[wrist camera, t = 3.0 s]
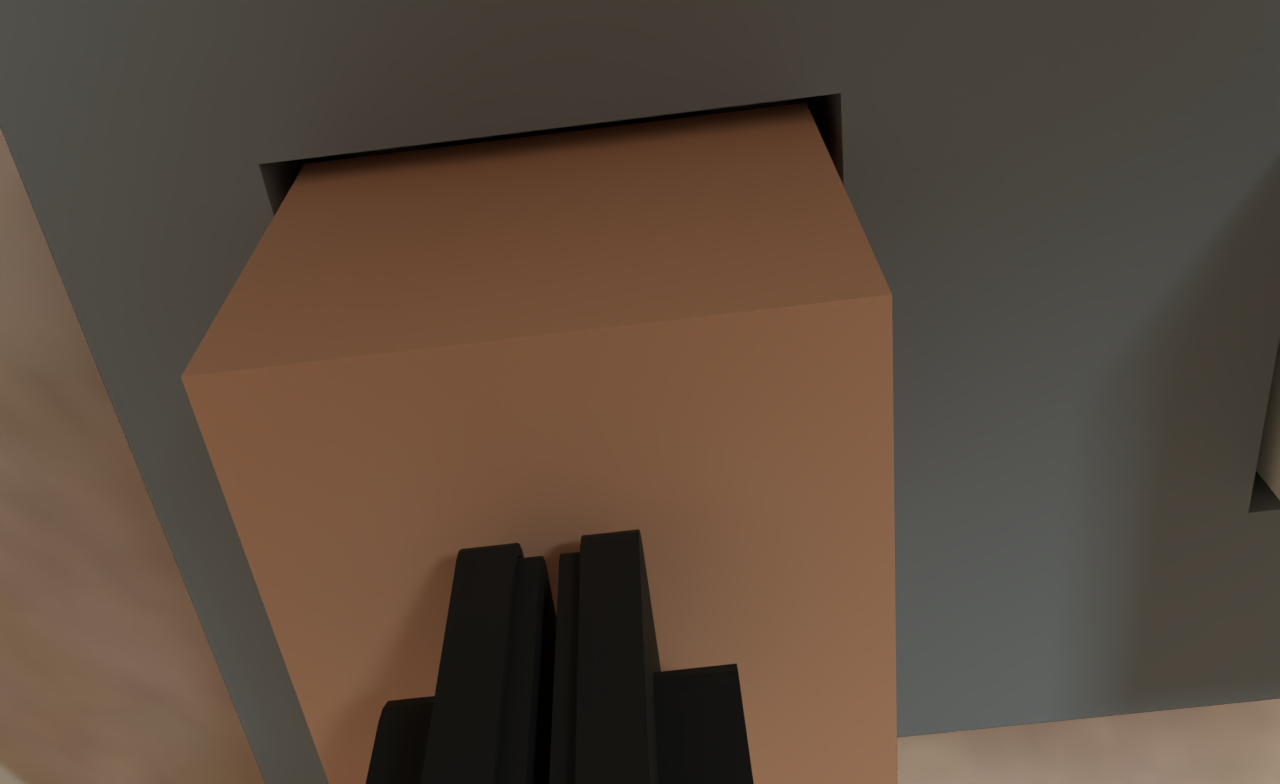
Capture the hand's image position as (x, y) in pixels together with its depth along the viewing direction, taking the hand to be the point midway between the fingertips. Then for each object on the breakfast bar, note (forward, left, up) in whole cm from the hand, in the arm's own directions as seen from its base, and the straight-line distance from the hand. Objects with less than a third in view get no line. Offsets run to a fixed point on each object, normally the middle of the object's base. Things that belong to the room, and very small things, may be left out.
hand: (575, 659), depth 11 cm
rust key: (0, 0, -5) cm, 5 cm away
